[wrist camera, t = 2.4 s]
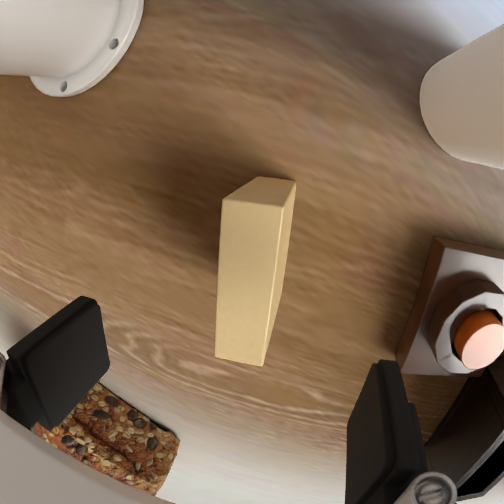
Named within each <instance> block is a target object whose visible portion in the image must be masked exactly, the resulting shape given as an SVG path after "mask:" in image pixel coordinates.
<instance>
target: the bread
mask: <svg viewBox="0 0 504 504" xmlns="http://www.w3.org/2000/svg"><path fill="white" fill-rule="evenodd" d="M35 435H37V436H38V437H40V438H41V439H43V440H44V441H46V442H48V443H49V444H51V445H52V446H54V447H56V448H57V449H59V450H61V451H62V452H64V453H66V454H67V455H69V456H71V457H73V458H74V459H76V460H78V461H80V462H82V463H83V464H85V465H87V466H89V467H91V468H93V469H95V470H97V471H99V472H101V473H103V474H105V475H107V476H109V477H111V478H113V479H115V480H117V481H119V482H122V483H124V484H126V485H128V486H131V487H133V488H135V489H138V490H140V491H143V492H145V493H148V494H150V495H153V496H155V495H156V493H157V491H158V490H159V489H160V488H161V486H162V485H163V483H164V481H165V479H166V477H167V475H168V473H169V471H170V469H171V466H172V464H173V461H174V459H175V457H176V456H177V450H178V447H179V443H180V440H179V439H178V438H176V437H175V436H174V434H173V433H172V432H165V431H163V430H161V429H160V428H159V427H157V426H156V425H155V424H154V423H153V422H150V420H149V419H148V418H147V417H146V416H144V415H142V414H141V413H139V412H137V410H136V409H134V408H132V407H130V406H129V405H127V404H126V403H125V402H123V401H122V400H120V399H119V398H118V397H116V396H115V395H113V394H112V393H111V392H110V391H108V390H107V389H106V388H104V387H103V386H102V385H100V384H99V383H98V382H97V383H96V384H95V385H94V386H93V387H92V389H91V390H90V391H89V392H88V393H87V394H86V395H85V396H84V398H83V399H82V400H81V401H80V402H79V403H78V404H77V406H76V407H75V408H74V409H73V410H72V411H71V412H70V414H69V415H68V416H67V417H66V418H65V419H64V421H63V422H62V423H61V424H60V425H59V426H57V427H54V428H53V429H52V430H51V432H50V431H48V430H46V429H45V428H43V427H42V426H40V424H39V423H38V422H37V423H36V424H35Z"/></svg>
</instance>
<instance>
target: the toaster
mask: <svg viewBox="0 0 504 504" xmlns="http://www.w3.org/2000/svg"><path fill="white" fill-rule="evenodd" d="M424 449H425V455H426V460H427V466H428V472H439V473H442V474H444V475H446V476H447V477H449V478H450V479H451V480H452V481H453V483H454V484H455V486H456V490H457V499H456V501H462V500H467V499H472V498H477V497H481V496H484V495H485V494H486V493H487V492H488V491H489V490H490V489H491V488H493V487H494V486H495V485H496V484H497V483H498V482H499V481H500V480H501V479H502V478H503V477H504V356H498V357H497V358H496V359H495V360H494V361H493V362H492V363H491V364H489V365H487V366H486V368H485V370H484V372H483V373H482V375H481V376H480V377H469V378H468V380H467V382H466V383H465V385H464V387H463V389H462V390H461V392H460V394H459V395H458V397H457V398H456V400H455V402H454V403H453V405H452V406H451V408H450V410H449V411H448V413H447V414H446V416H445V417H444V419H443V420H442V422H441V423H440V424H439V426H438V427H437V429H436V430H435V432H434V433H433V434H432V436H431V437H430V439H429V440H428V441H427V443H426V444H425V445H424Z"/></svg>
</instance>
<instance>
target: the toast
mask: <svg viewBox="0 0 504 504" xmlns="http://www.w3.org/2000/svg"><path fill="white" fill-rule="evenodd" d="M295 191H296V181H292V180H284V179H277V178H269V177H261V176H258V177H256V178H255V179H253V180H252V181H250V182H248V183H247V184H245V185H244V186H242V187H241V188H239V189H237V190H236V191H234V192H233V193H231V194H230V195H228V196H227V197H225V198H223V200H222V211H221V226H220V242H219V260H218V279H217V299H216V323H215V350H214V356H215V357H218V358H223V359H227V360H232V361H237V362H242V363H247V364H252V365H257V366H262V365H263V363H264V359H265V355H266V352H267V348H268V344H269V340H270V337H271V333H272V329H273V325H274V321H275V317H276V313H277V309H278V306H279V302H280V298H281V293H282V287H283V280H284V273H285V266H286V259H287V252H288V245H289V237H290V230H291V222H292V215H293V207H294V199H295Z"/></svg>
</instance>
